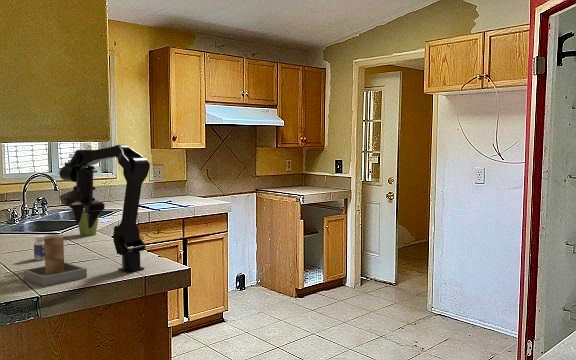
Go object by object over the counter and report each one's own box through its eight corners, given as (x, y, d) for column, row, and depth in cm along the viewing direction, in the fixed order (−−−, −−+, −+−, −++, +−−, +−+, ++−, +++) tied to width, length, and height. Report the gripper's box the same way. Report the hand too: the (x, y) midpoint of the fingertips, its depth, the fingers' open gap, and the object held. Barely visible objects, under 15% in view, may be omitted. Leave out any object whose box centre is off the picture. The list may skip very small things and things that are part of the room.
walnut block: (64, 273, 164) (63, 234, 164) (64, 276, 159) (63, 237, 159) (46, 274, 162) (44, 235, 161) (45, 278, 157) (44, 238, 156)
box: (86, 277, 162) (86, 268, 161) (43, 286, 151) (42, 277, 151) (66, 270, 171) (66, 262, 170) (23, 279, 160) (23, 270, 160)
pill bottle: (43, 260, 186) (42, 237, 186) (31, 260, 187) (30, 237, 187) (52, 257, 191) (51, 234, 191) (40, 257, 192) (39, 234, 192)
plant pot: (86, 238, 232) (85, 214, 231) (69, 235, 238) (69, 212, 237) (106, 234, 242) (106, 211, 242) (90, 232, 248) (89, 209, 248)
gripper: (50, 181, 180) (50, 223, 182) (75, 188, 168) (74, 233, 170) (80, 180, 188) (79, 220, 190) (106, 187, 177) (104, 229, 178)
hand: (83, 225), depth 182 cm, fingers open, 9 cm apart
